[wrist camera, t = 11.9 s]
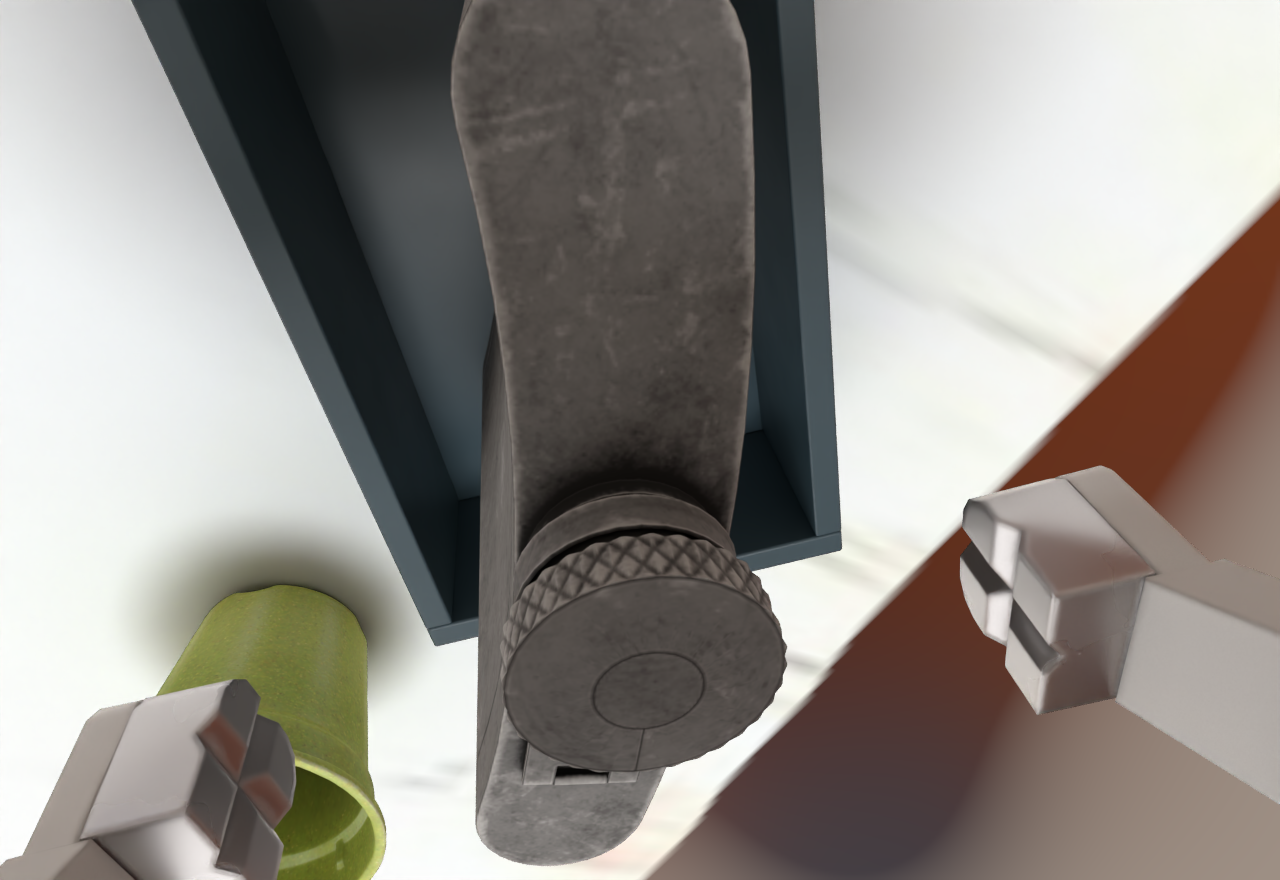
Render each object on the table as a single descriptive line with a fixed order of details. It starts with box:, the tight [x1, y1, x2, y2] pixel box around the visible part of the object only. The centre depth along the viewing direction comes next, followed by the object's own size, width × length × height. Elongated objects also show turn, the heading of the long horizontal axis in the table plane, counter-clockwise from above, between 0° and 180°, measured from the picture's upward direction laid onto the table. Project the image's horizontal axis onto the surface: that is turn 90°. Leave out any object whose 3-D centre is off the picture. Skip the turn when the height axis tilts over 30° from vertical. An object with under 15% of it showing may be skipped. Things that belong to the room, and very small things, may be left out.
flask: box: [450, 0, 787, 866], centre depth 17 cm, size 4×14×18 cm, turn 175°
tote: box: [131, 0, 842, 646], centre depth 22 cm, size 22×13×7 cm, turn 10°
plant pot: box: [156, 585, 386, 880], centre depth 29 cm, size 9×9×9 cm
